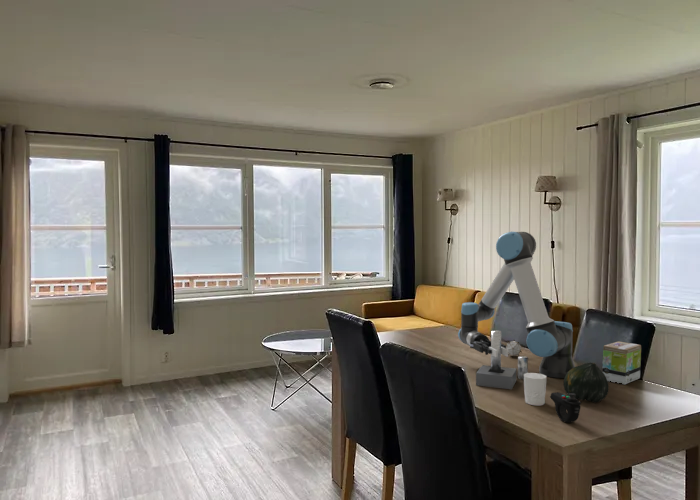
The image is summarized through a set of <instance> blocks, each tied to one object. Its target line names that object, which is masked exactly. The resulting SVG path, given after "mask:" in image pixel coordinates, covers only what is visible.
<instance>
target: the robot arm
mask: <svg viewBox="0 0 700 500" xmlns="http://www.w3.org/2000/svg"><path fill="white" fill-rule="evenodd" d="M536 249H537V242H536V239H535V237H534V236H533V235H532V234H531V233H529V232H526V231H508V232H505V233H503V234H501V235H500V236H499V237H498V239H497V241H496V245H495V251H496V254H497V255H498V256H499V257H500V258H502V259H503V261H504V263H503V265H502V267H501V268H500V270H499V271H498V273H497V274H496V275H495V277H494V279H493V280H492V282H491V283H490V286H489V287H488V288H487V290H486V292H485V293H484V295H483V296H482V298H481V299H480V301H479V303H477V302H472V301H468V302H462V304H461V311H460V312H461V316H460V317H461V325H460V326H461V328H460V329H459V330H458V332H457V336H458V339H459V341H461V342H462V343H463V344H464V345H467V346H469V348H470V349H473V350H475V351H477V352H479V353H481V354H483V353H484V354H485V355H484V356H489V354H490V356H491V355H493V356H494V357H497V351H498V350H496V349H494V348H492V347H491V340H490V339H489V337H488V336H487V335H485V334H483V333H481V332H479V330H478V329H479V322H481V321H486V320H489V319H491V318H493V317H494V315H495V312H496V311H495V309H496V308H497V306H498V304H499V303H500V302H501V300H502V298H503V297H504V296H505V294H506V293H507V291H508V290H509V288H510V286H511V285H512V283H515V285H516V286H515V287H516V289H517V293H518V296H519V298H520V301H521V304H522V308H523V310H524V314H525V317H526V321H527V325H526V326H525V330H526V332H527V336H526V340H525V342H526V346H527V348H528V350H529V351H530V352H531V353H532V355H535V356H537V357H540V358H542V359H541V361H540V364H539V368H538V369H539V371H538V372H539V374H543V375H545V376H547V377H549V378H556V379H564V378H565V376H566V375H567V373H568V372H569V371H570V370H571V369H572V368H574V367H576V366H575V361H574V359H573V332H574V330H573V325H572V323H571V322H566V321H556V320H554V319H552V318H550V317H549V314H548V310H547V307H546V306H545V302H544V300H543V295H542V292H541V290H540V287H539V284H538V281H537V278H536V275H535V272H534V269H533V266H532V261H533V259H534V257H533V256H534V254H535V252H536ZM508 354H509V353H508V350H507V349H506V344H503V343H502V342H501V356H504V357H507V358H508V357H509V355H508Z"/></svg>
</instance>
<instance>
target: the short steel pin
mask: <svg viewBox="0 0 700 500" xmlns="http://www.w3.org/2000/svg"><path fill="white" fill-rule="evenodd" d="M517 356H518V355H517ZM528 366H529V359H528V356H525V355H519V356H518V357H517V379H519V380H522V381H524V374H526V373H529V371H528V370H529V368H528Z"/></svg>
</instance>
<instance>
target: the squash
mask: <svg viewBox="0 0 700 500" xmlns="http://www.w3.org/2000/svg"><path fill="white" fill-rule="evenodd" d="M609 385H610V384H609V381H607V379H606V376H605V375H604V373H603V372H602V370H601V368H600V367H599V366H598V364H597V363H595V362H587V363H582V364H579V365H577V366H575V367H574V368H572V369H571V370H570V371H569V372H568V373H567V375H566V376H565V378H563V387H564V388H563V389H564V392H565V393H566V395H567V396H569V397H570V395H569V393H574V394H576V395H575V396H574V397H575V398H576V399H577V400H579V401H580V400H581V401H584V400H585V401H587V402H592V403H599V402H600V401H603V400H604V399H605V398H606V397H607V395H608V393H609V390H610V389H609V387H610V386H609Z"/></svg>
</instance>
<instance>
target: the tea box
mask: <svg viewBox="0 0 700 500" xmlns="http://www.w3.org/2000/svg"><path fill="white" fill-rule="evenodd" d="M602 350H603V351H602V368H601V369H602V370H601V371H602V372H603V373H604V375H605V376H606V379H607V382H610V381H611V382H612V383H615V382H617V383H616V384H619V383H622V384H621V385H627V384H629V383H631V382H634V381H636V380H638V379H640V378H641V361H642V345H641V344H637V343H632V342H631V343H630V342H624V341H615V342H610V343H608V344H605V345H603V349H602ZM611 382H610V383H611Z"/></svg>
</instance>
